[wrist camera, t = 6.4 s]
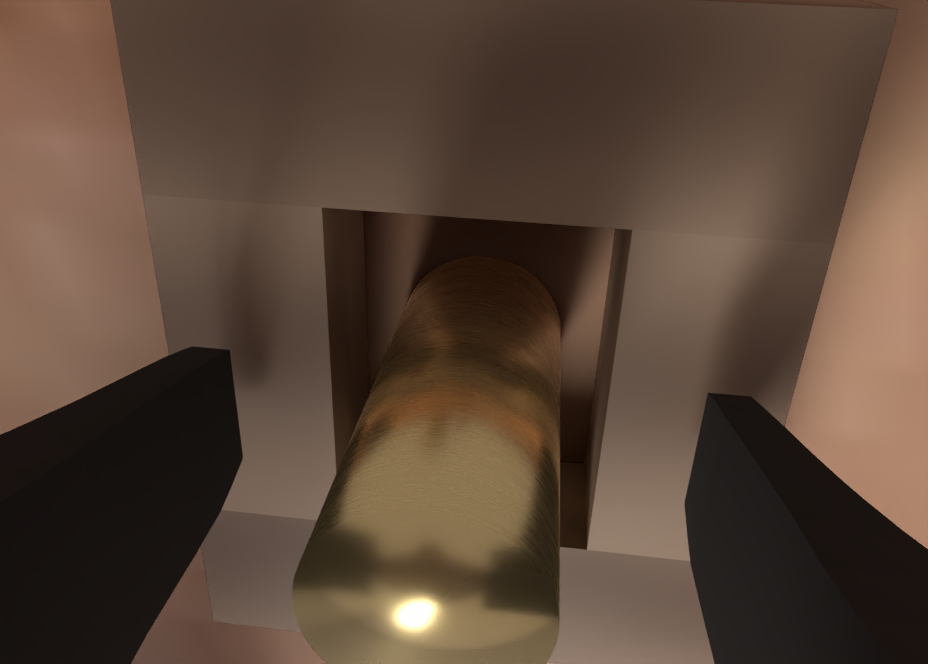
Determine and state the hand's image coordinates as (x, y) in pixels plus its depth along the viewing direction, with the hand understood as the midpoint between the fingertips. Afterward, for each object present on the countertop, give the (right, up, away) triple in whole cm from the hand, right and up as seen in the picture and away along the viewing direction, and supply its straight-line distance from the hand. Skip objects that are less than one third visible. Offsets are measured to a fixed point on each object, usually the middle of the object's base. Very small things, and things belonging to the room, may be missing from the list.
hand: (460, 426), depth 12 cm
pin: (0, +1, +3) cm, 3 cm away
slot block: (0, +2, +3) cm, 3 cm away
